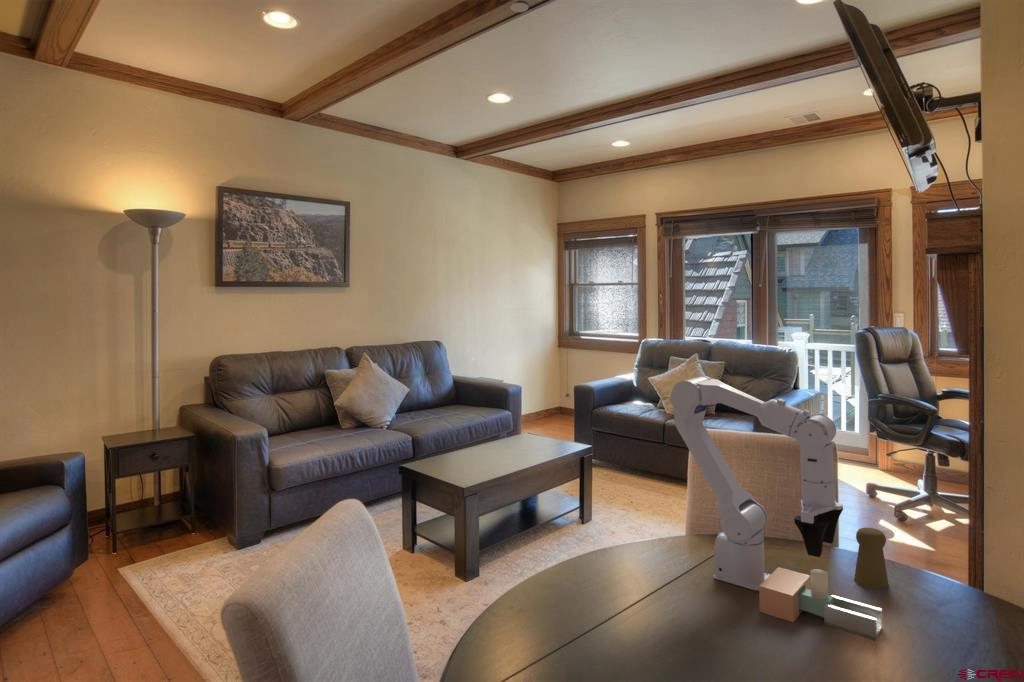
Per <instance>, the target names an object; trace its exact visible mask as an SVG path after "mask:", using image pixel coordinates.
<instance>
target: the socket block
mask: <svg viewBox="0 0 1024 682" xmlns="http://www.w3.org/2000/svg"><path fill="white" fill-rule="evenodd" d="M802 588H805V589H808V590H811V574H806V573H802V572H798V571H796V570H795V571H794V570H791V569H788V568H784V567H779V566H778V567H777V568H776V569H774V571H773V572H772V573H770V576H769V577H768V578H767V579H766V580H765V581H764V582H763V583H762V584H761V585H760V586H759V591H758V592H759V593H758V594H759V598H758V599H759V612H760V613H763V614H767V615H770V616H773V617H774V618H779V619H781V620H785V621H788V622H790V623H794V622H796V620H797V618H799V616H800V615H801V613H802V612H803V611H804V610H801V609H799V591H800V590H801V589H802Z"/></svg>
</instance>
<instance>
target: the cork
mask: <svg viewBox="0 0 1024 682" xmlns="http://www.w3.org/2000/svg"><path fill="white" fill-rule="evenodd" d="M855 539H856V542H857V543H858V544H859V545H858V550H857V551H858V552H857V558H856V565H855V571H854V579H853V581H854V582H855V583H856V584H857V585H859V586H861V587H864V588H867V589H871V590H885V589H887V588H889V579H888V572H887V567H886V561H885V560H886V559H885V554H884V547H885V546H886V543H887V538H886V535H885V534H884V532H883V531H881V530H880V529H877V528H874V527H861V528H858V530H857V531H856V533H855Z"/></svg>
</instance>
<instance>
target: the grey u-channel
mask: <svg viewBox="0 0 1024 682" xmlns="http://www.w3.org/2000/svg"><path fill="white" fill-rule="evenodd" d="M831 596H833V597H834V606H832V605H829V604H825V605H824V616H823V617H824V619H823V620H824V621H823V622H824V624H823V625H825V626H828V627H830V628H834V629H837V630H840V631H843V632H847V633H850V634H853V635H857V636H859V637H863V638H866V639H869V640H873V641H877V639H878V637H879V635H880V633H881V631H882V630H883V608H881V607H877V606H874V605H870V604H866V603H863V602H860V601H856V600H852V599H848V598H845V597H841V596H838V595H834V594H832V595H831Z"/></svg>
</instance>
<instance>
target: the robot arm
mask: <svg viewBox="0 0 1024 682" xmlns="http://www.w3.org/2000/svg"><path fill="white" fill-rule="evenodd" d="M669 395H670V396H669V398H668V399H669V402H670V403H671V405H672V407H673V408H672V409H673V418H674V424H675V427H676V430H677V431H678V433H679V434H680V436H681V438H682V440H683V442H684V444H685V445H686V447H687V448H688V450H689V452H690V454H691V456H692V457H693V459H694V461H695V462H696V464H697V466H698V468H699V469H700V471H701V473H702V475H703V476H704V478H705V480H706V481H707V483H708V485H709V487H710V489H711V490H712V492H713V494H714V495H715V497H716V500H717V506H716V513H717V515H718V517H719V519H720V523H721V524H720V525H721V529H722V532H719V533H718V534H717V536H716V538H715V540H714V550H713V551H714V552H713V553H714V558H713V559H714V574H713V578H714V579H715V580H718V581H722V582H726V583H729V584H732V585H734V586H738V587H742V588H746V589H747V590H748V589H749V590H752V591H755V592H759V586H760V585H761V584H762V583H763V582H764V581H765V580H766V579H767V578H768V577H769V576H770V575H771V573H766V572H765V538H764V534H763V529H764V528H765V527H766V526H767V525H768V521H769V516H768V513H767V510H766V508H764V506H763V505H762V504H760V503H759V502H758V501H757V500H755V498H754V497H753V495H752V493H750V492H748V491H747V490H745V489H744V488H743V487H741V486H740V484H739V482H738V480H737V478H736V476H735V475H734V474H733V472H732V470H731V469H730V467H729V465H728V463H727V462H726V460H725V459H724V457H723V455H722V454H721V452H720V450H719V448H718V447H717V445H716V444H715V442H714V440H713V438H712V436H711V435H710V433H709V431H708V430H707V428H706V426H705V425H704V422H703V421H704V418H705V415H706V412H707V409H708V408H709V407H710V405H714V404H715V405H716V404H722V405H725V406H728V407H730V408H734V409H736V410H738V411H741V412H743V413H746V414H749V415H752V416H754V417H757V419H758V421H759V422H760V424H761V426H763V427H765V428H768V429H769V430H773V431H774V432H777V433H780V434H781V435H784V436H786V437H788V438H790V439H795V441H796V442H797V444H798V445H799V451H800V452H799V453H800V454H799V458H800V460H799V461H800V483H801V484H800V486H801V500H800V506H801V511H800V515H796V516H795V517H794V520H793V521H794V524H795V526H796V527H797V529H798V530H799V533H800V534H801V536H802V541H803V543H804V547H805V550H806V553H807V555H808V556H812V557H817V558H820V557H821V556H822V553H823V545H824V544H823V543H825V544H826V543H827V544H830V545H832V544H833V542H834V539H835V535H836V534H835V533H836V531H837V530H836V529H837V524H838V522H839V518H840V516H841V514H842V512H843V510H844V505H843V504H842V503H841V502H837V499H836V480H835V460H834V458H835V456H834V448H833V447H834V446H833V442H832V441H833V440H834V438H835V437H836V435H837V426H836V424H835V422H834V421H833V420H832V419H831V418H829V417H828V416H826V415H825V414H824V413H812V414H811V411H810V410H808V409H804V410H802V409H800V408H797V407H795V406H792V405H790V404H787V400H786V399H783V398H779V399H775V398H773V399H769V400H767V401H763V400H761V399H759V398H757V397H754V395H753V396H752V395H750V394H748V393H746V392H744V391H742V390H740V389H737V388H735V387H732V386H730V385H729V384H727V383H724V382H722V381H721V380H719V379H717V378H711V377H709V376H707V375H698V376H695V377H692V378H688V379H683V380H680V381H677V382H676V383H675V384H674V385H673V387H672V390H671V392H670V394H669Z"/></svg>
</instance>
